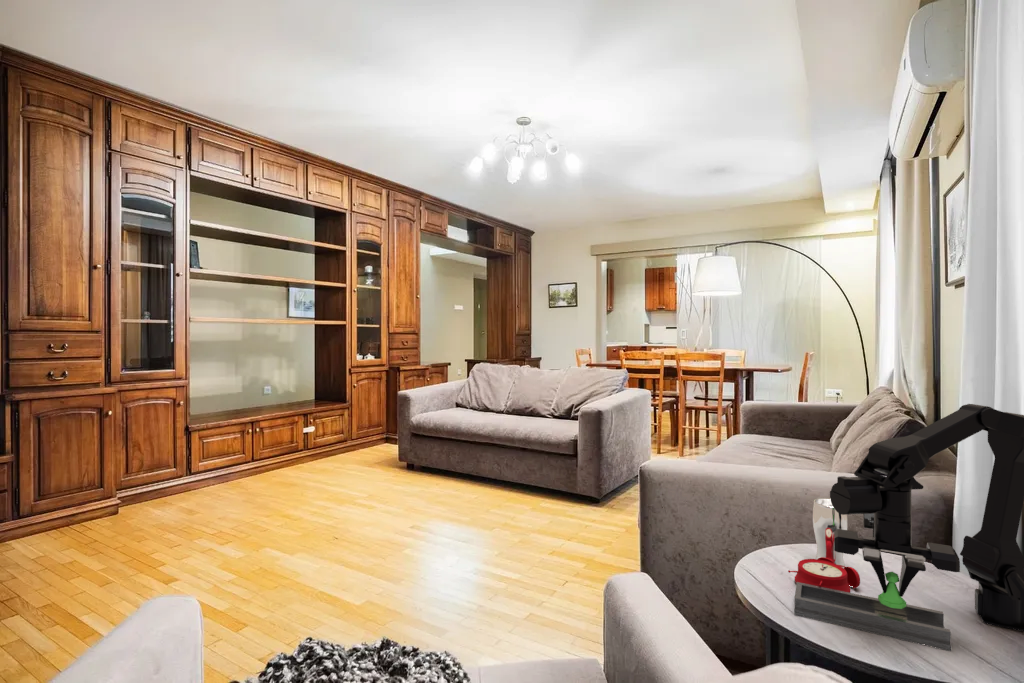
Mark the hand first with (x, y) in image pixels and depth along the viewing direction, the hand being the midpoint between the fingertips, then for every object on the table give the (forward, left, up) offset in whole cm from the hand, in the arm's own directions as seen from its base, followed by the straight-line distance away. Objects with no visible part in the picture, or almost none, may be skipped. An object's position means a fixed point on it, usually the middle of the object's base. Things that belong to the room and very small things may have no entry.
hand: (892, 594), depth 99 cm
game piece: (0, 0, -2) cm, 2 cm away
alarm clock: (+11, -12, -6) cm, 17 cm away
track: (+4, 0, -6) cm, 7 cm away
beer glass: (+10, -23, -6) cm, 26 cm away
